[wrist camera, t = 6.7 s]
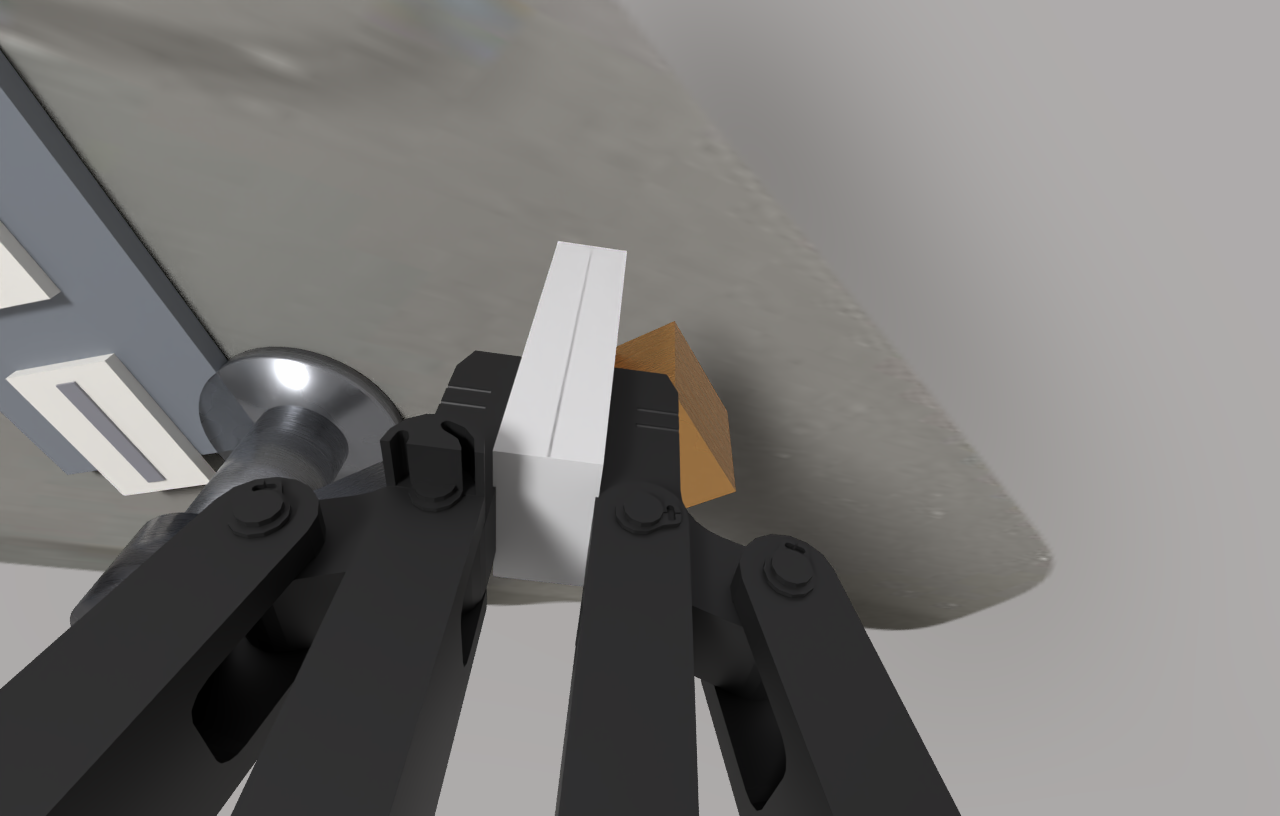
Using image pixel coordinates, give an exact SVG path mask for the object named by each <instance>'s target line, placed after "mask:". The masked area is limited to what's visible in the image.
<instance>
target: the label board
mask: <svg viewBox="0 0 1280 816" xmlns="http://www.w3.org/2000/svg"><path fill="white" fill-rule="evenodd" d="M227 361H228V360H227V359H226V358H225V356H224V355H223V354H222V352H221V351H220V349H219V348H218V347H217V345H216V344H215V343H214V341H213V340H212V339H211V337H210V336H209V334H208V333H207V332H206V330H205V329H204V328H203V326H202V325H201V324H200V322H199V321H198V319H197V318H196V317H195V315H194V314H193V313H192V311H191V310H190V308H189V307H188V306H187V304H186V303H185V302H184V300H183V299H182V298H181V296H180V295H179V293H178V292H177V291H176V289H175V288H174V287H173V285H172V284H171V283H170V281H169V280H168V278H167V277H166V276H165V274H164V273H163V272H162V270H161V269H160V268H159V266H158V265H157V263H156V262H155V261H154V259H153V258H152V257H151V255H150V254H149V252H148V251H147V250H146V248H145V247H144V246H143V244H142V243H141V242H140V240H139V239H138V237H137V236H136V235H135V233H134V232H133V231H132V229H131V228H130V227H129V225H128V224H127V222H126V221H125V220H124V218H123V217H122V216H121V214H120V213H119V211H118V210H117V209H116V207H115V206H114V205H113V203H112V202H111V201H110V199H109V198H108V196H107V195H106V194H105V192H104V191H103V190H102V188H101V187H100V186H99V184H98V183H97V181H96V180H95V179H94V177H93V176H92V175H91V173H90V172H89V171H88V169H87V168H86V166H85V165H84V164H83V162H82V161H81V160H80V158H79V157H78V155H77V154H76V153H75V151H74V150H73V149H72V147H71V146H70V145H69V143H68V142H67V140H66V139H65V138H64V136H63V135H62V134H61V132H60V131H59V130H58V128H57V127H56V125H55V124H54V123H53V121H52V120H51V119H50V117H49V116H48V114H47V113H46V112H45V110H44V109H43V108H42V106H41V105H40V104H39V102H38V101H37V99H36V98H35V97H34V95H33V94H32V93H31V91H30V90H29V89H28V87H27V86H26V84H25V83H24V82H23V80H22V79H21V78H20V76H19V75H18V74H17V72H16V71H15V69H14V68H13V67H12V65H11V64H10V63H9V61H8V60H7V58H6V57H5V56H4V54H3V53H2V52H1V50H0V412H2V413H3V414H4V415H5V416H6V417H7V418H8V419H9V420H10V421H11V422H12V423H13V424H14V425H15V426H16V427H17V428H18V429H20V430H21V431H22V432H23V433H24V434H25V435H26V436H27V437H28V438H29V439H30V440H31V441H32V442H33V443H34V444H35V445H36V446H37V447H39V448H40V449H41V450H42V451H43V452H44V453H45V454H46V455H47V456H48V457H49V458H50V459H51V460H52V461H53V462H54V463H55V464H57V465H58V466H59V467H60V468H61V469H62V470H63V471H64V472H65V473H66V474H67V475H68V474H75V473H82V472H89V471H96V470H98V471H99V472H100V473H101V474H102V475H103V476H104V477H105V478H106V479H107V480H108V481H109V482H110V483H111V484H112V485H113V486H114V487H115V488H116V489H117V490H118V491H119V492H120V493H121V494H122V495H123V496H125V495H133V494H140V493H147V492H154V491H161V490H169V489H176V488H183V487H190V486H198V485H205V484H208V482H209V481H210V480H211V479H212V477H213V476H214V475H215V473H216V472H215V471H214V470H213V469H212V467H211V466H210V465H209V464H208V463H207V462H206V460H205V459H204V458H203V457H202V456H201V455H205V454H212V453H218V452H220V451H221V450H223V449H224V452H225V448H226V447H227V445H228V444H229V443H231V444H233V443H234V444H235V445H234V444H233V445H234V446H235V447H234V446H233V445H231V444H230V445H229V446H230V447H232V446H233V447H234V448H231V449H233V450H234V449H235V448H236V447H237V446H236V444H238V443H239V442H240V441H241V440H242V439H243V438H244V435H246V434H247V432H248V431H249V430H250V428H252V427H251V425H252V426H253V425H254V424H255V423H254V422H253V421H252V419H247V418H249V417H248V415H246V414H247V413H246V414H245V417H246V418H244V417H243V416H242V415H244V413H245V410H244V411H243V412H244V413H243V412H241V411H242V410H243V408H241V407H240V406H241V405H240V403H239V404H238V402H237V403H235V404H236V405H237V404H238V405H240V406H239V407H238V409H237V407H234V408H235V409H236V410H237V411H239V413H240V414H241V415H240V414H239V415H240V416H236V417H238V418H239V417H241V418H242V419H243V420H244V419H246V420H251V421H250V422H253V424H252V423H249V421H246V420H244V421H246V422H248V423H249V425H250V427H249V426H248V427H247V425H248V423H247V425H246V424H245V423H242V422H244V421H242V419H241V420H240V419H239V420H238V418H237V420H238V421H239V422H240V421H242V422H241V423H242V424H243V425H244V426H245V425H246V427H242V426H243V425H242V424H241V425H242V426H241V425H240V423H236V422H231V423H230V420H232V419H229V420H228V418H230V417H231V416H232V415H233V416H234V413H235V415H236V413H237V412H236V410H235V409H234V411H233V412H234V413H233V414H232V410H233V409H232V408H233V407H232V408H231V406H232V404H233V403H234V398H233V399H231V398H232V397H233V396H232V393H231V395H230V392H229V391H230V390H229V391H228V392H229V393H228V395H230V396H229V398H230V400H231V401H233V402H232V404H231V403H230V404H231V405H230V404H229V402H227V403H228V404H229V405H228V406H229V407H228V406H227V407H228V410H229V409H230V408H231V409H230V410H229V411H230V413H229V411H228V410H227V409H226V404H225V403H224V402H222V401H223V400H226V401H228V400H229V398H228V395H225V394H226V393H223V394H224V396H225V397H226V399H225V398H223V397H224V396H223V397H222V395H223V394H222V395H221V393H219V392H220V391H221V390H220V388H221V387H219V384H218V383H220V382H218V383H217V380H216V382H213V383H212V382H211V381H212V380H214V381H215V379H211V381H210V382H211V384H213V388H212V385H211V384H210V386H209V384H208V386H206V385H205V384H206V382H207V381H208V380H209V379H210V378H211V377H212V376H214V375H215V374H217V373H216V372H217V371H218V370H219V369H220V368H221V367H222V366H223V365H224V364H225V363H226V362H227ZM217 375H218V374H217ZM214 377H215V376H214ZM214 377H213V378H214ZM218 377H219V376H218ZM218 377H217V376H216V378H217V379H220V378H218ZM220 380H221V379H220ZM218 381H219V380H218ZM210 382H209V383H210ZM214 383H216V384H218V386H217V385H216V384H215V385H214ZM222 383H223V382H222ZM223 384H224V383H223ZM204 385H205V386H206V387H209V388H210V387H211V388H210V390H211V389H212V390H213V389H214V387H215V389H218V387H219V389H218V390H213V392H216V391H217V392H218V391H219V392H218V394H217V393H214V395H215V394H216V395H217V396H216V395H215V396H214V395H213V394H211V395H213V396H211V395H209V396H210V397H211V398H212V397H216V400H217V398H219V397H221V398H222V399H223V400H222V399H219V400H220V401H221V400H222V401H221V402H222V403H224V404H225V408H224V405H222V404H220V402H219V401H217V402H216V401H215V402H216V403H218V402H219V403H218V405H219V404H220V405H221V407H222V409H223V410H224V412H226V411H227V412H228V413H229V414H231V415H230V416H229V415H228V416H229V417H228V416H227V414H226V413H227V412H226V413H223V410H222V413H223V415H224V414H225V416H226V417H228V418H225V417H224V416H222V414H221V413H219V412H221V408H219V407H220V405H219V407H218V406H217V405H216V404H215V402H213V403H214V404H215V405H216V406H215V405H213V406H214V407H216V408H217V407H218V408H217V409H216V408H211V407H212V406H210V405H208V404H207V403H209V401H210V400H209V399H207V396H208V394H203V393H204V392H206V391H204V390H205V389H206V390H207V388H206V387H205V388H204V390H203V391H202V389H203V387H204ZM216 386H217V388H216ZM221 386H222V389H223V390H224V388H225V387H223V385H221ZM226 389H228V388H227V386H226ZM223 390H222V391H223ZM222 391H221V392H222ZM224 391H226V390H224ZM224 391H223V392H224ZM202 392H203V393H202ZM207 392H208V391H207ZM207 392H206V393H207ZM226 392H227V391H226ZM201 393H202V394H203V395H205V396H206V395H207V396H206V397H205V396H203V395H202V394H201ZM209 393H211V391H209ZM200 394H201V397H203V399H201V400H202V401H203V402H202V401H201V400H200V401H201V402H202V404H201V402H200V401H199V399H200V398H201V397H200ZM219 394H220V396H219ZM209 396H208V397H209ZM231 396H232V397H231ZM205 398H206V399H205ZM211 398H210V399H211ZM227 398H228V399H227ZM206 400H207V401H208V402H206V403H205V401H206ZM212 400H213V401H214V400H215V399H212ZM235 401H236V399H235ZM199 402H200V404H201V405H202V406H203V403H205V404H206V405H205V404H204V405H205V406H204V408H202V409H204V410H205V409H207V411H206V412H208V411H209V410H210V413H212V412H213V411H212V412H211V409H212V410H214V409H215V410H216V411H215V410H214V411H215V412H216V413H217V414H216V415H217V416H218V417H217V416H215V414H214V412H213V413H212V414H209V412H208V413H207V414H208V415H210V416H209V417H211V418H212V417H213V420H216V417H217V418H218V419H217V420H218V421H213V420H212V419H210V420H209V418H208V415H207V414H204V415H207V418H208V420H209V421H208V420H206V421H207V422H208V425H209V426H210V421H211V420H212V421H213V423H214V425H215V424H218V425H219V424H220V425H221V426H223V425H222V423H220V422H219V421H221V420H222V421H225V420H227V421H229V423H228V422H227V421H226V422H223V423H224V427H225V429H226V430H227V431H226V430H224V431H225V432H226V435H227V436H228V435H229V437H231V438H232V439H233V437H236V436H237V437H236V438H238V439H236V438H235V439H233V440H234V442H231V440H232V439H231V440H230V439H228V440H227V441H228V442H229V441H230V442H229V443H228V444H227V441H226V438H227V436H224V434H225V432H224V431H223V428H224V427H223V428H222V427H221V428H220V425H219V428H218V425H215V427H216V429H215V428H213V429H215V431H214V432H215V433H213V435H214V434H216V433H217V432H218V434H217V435H219V436H218V437H217V436H214V438H215V437H217V438H218V439H221V438H222V437H224V438H225V437H226V438H225V439H221V440H222V441H223V440H224V443H226V447H225V445H224V443H223V445H222V443H221V441H220V442H218V441H219V440H218V439H215V440H217V441H216V442H215V444H216V443H218V444H217V449H218V446H219V443H221V445H220V446H219V449H220V447H221V446H222V449H220V451H216V450H215V448H214V447H213V445H212V443H213V444H214V441H213V442H211V443H210V441H211V440H210V441H209V439H208V438H209V437H208V438H207V436H208V435H207V436H206V433H208V432H210V431H211V429H212V427H210V431H208V432H206V433H205V432H204V430H205V429H207V428H205V429H203V426H202V425H201V421H200V417H199V413H203V412H204V411H202V412H200V411H201V410H200V411H199V406H200V407H201V405H200V404H199ZM210 403H211V404H212V401H211V402H210ZM210 403H209V404H210ZM235 404H233V406H235ZM207 405H208V406H207ZM238 405H237V406H238ZM208 407H210V408H208ZM239 408H241V410H239ZM218 409H220V411H217V410H218ZM225 409H226V410H225ZM206 412H205V413H206ZM218 414H219V415H220V417H221V418H222V417H223V418H224V419H225V420H223V419H220V417H219V415H218ZM237 414H238V413H237ZM211 415H214V416H215V417H214V416H211ZM201 416H202V415H201ZM234 417H235V416H234ZM205 418H206V417H205ZM205 418H204V416H203V418H202V419H204V420H205ZM207 418H206V419H207ZM214 418H215V419H214ZM231 418H233V417H231ZM204 420H203V421H204ZM234 420H235V421H237V420H236V419H233V420H232V421H234ZM202 423H203V422H202ZM205 423H206V422H205ZM205 423H204V424H205ZM226 423H227V424H228V425H227V424H226ZM232 423H233V424H234V423H236V424H237V425H238V426H240V427H239V429H237V430H238V431H241V432H242V433H244V430H241V429H240V428H243V429H245V431H246V433H244V434H242V433H239V432H238V431H237V430H235V429H233V426H232V427H229V426H231V425H230V424H232ZM206 424H207V423H206ZM225 424H226V426H227V427H229V429H230V428H231V429H232V430H234V431H235V432H236V433H237V434H241V435H242V436H241V437H242V439H239V438H241V437H240V436H238V435H237V434H236V435H235V433H234V431H232V430H231V429H230V430H231V432H230V430H229V429H228V428H226V426H225ZM233 424H232V425H233ZM236 424H234V428H238V426H237V425H236ZM208 425H207V426H208ZM214 425H212V426H213V427H214ZM235 426H237V427H235ZM247 428H249V430H246V429H247ZM217 429H220V430H221V431H223V432H222V434H220V433H221V431H218V430H217ZM216 430H217V432H216ZM228 431H229V432H230V434H232V435H233V436H230V434H229V433H227V432H228ZM219 432H220V433H219ZM232 432H233V433H232ZM210 433H212V432H210ZM209 435H210V434H209ZM220 435H223V436H222V437H221V436H220ZM234 435H235V436H234ZM210 436H212V435H210ZM219 437H220V438H219ZM229 437H228V438H229ZM212 438H213V437H212ZM214 438H213V439H214ZM210 439H211V438H210ZM233 440H232V441H233ZM236 440H239V442H238V441H237V442H236ZM215 446H216V445H215ZM229 446H228V447H227V448H226V449H227V450H228V451H229V449H228V448H229ZM223 447H225V448H223ZM230 451H231V450H230ZM222 452H223V451H222Z"/></svg>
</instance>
